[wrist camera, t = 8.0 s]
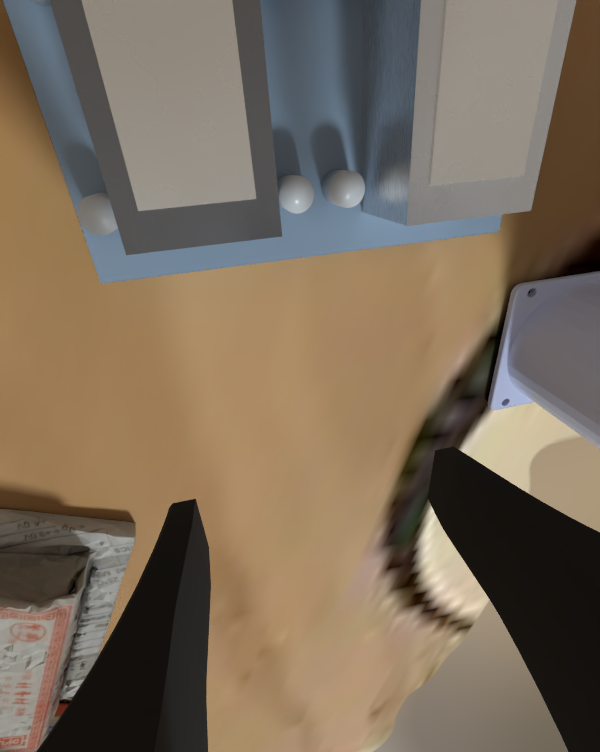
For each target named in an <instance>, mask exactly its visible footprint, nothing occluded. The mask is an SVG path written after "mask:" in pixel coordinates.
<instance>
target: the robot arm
mask: <svg viewBox="0 0 600 752" xmlns="http://www.w3.org/2000/svg"><path fill="white" fill-rule="evenodd" d="M530 289H531V291H530V293H529V294H528V292H529V290H530ZM532 402H535V403H537V404H538V405H539V406H541V407H542V408H544V409H545V410H546V411H548V412H549V413H550V414H552V415H553V416H555V417H556V418H557V419H559V420H560V421H562V422H563V423H564V424H566V425H567V426H568V427H570V428H571V429H573V430H574V431H575V432H577V433H578V434H580V435H581V436H582V437H584V438H585V439H587V440H588V441H589V442H591V443H592V444H593V445H595V446H596V447H598V448H599V449H600V271H596V272H590V273H584V274H577V275H571V276H564V277H558V278H551V279H545V280H538V281H532V282H525V283H520V284H518V285H516V286H515V287H514V288H513V290H512V292H511V295H510V300H509V304H508V309H507V314H506V318H505V323H504V328H503V333H502V337H501V342H500V347H499V351H498V356H497V361H496V365H495V370H494V375H493V380H492V384H491V389H490V394H489V398H488V406H489V407H490V408H491V409H493V410H499V409H504V408H508V407H513V406H518V405H523V404H527V403H532ZM428 499H429V501H430V503H431V506H432V508H433V510H434V512H435V514H436V516H437V518H438V520H439V522H440V524H441V525H442V527H443V529H444V531H445V532H446V534H447V535H448V537H449V539H450V540H451V542H452V543H453V545H454V546H455V548H456V549H457V551H458V552H459V554H460V555H461V557H462V558H463V560H464V561H465V563H466V564H467V566H468V567H469V569H470V570H471V572H472V573H473V575H474V576H475V578H476V579H477V581H478V582H479V584H480V585H481V587H482V588H483V590H484V591H485V593H486V594H487V596H488V597H489V599H490V601H491V602H492V603H493V605H494V607H495V609H496V610H497V612H498V614H499V615H500V617H501V619H502V621H503V623H504V624H505V626H506V628H507V630H508V632H509V634H510V635H511V637H512V639H513V641H514V643H515V645H516V646H517V648H518V650H519V652H520V654H521V656H522V658H523V660H524V662H525V663H526V666H527V668H528V669H529V671H530V673H531V675H532V677H533V679H534V681H535V683H536V685H537V687H538V689H539V691H540V693H541V695H542V697H543V699H544V701H545V703H546V705H547V707H548V709H549V711H550V713H551V715H552V718H553V720H554V722H555V724H556V726H557V728H558V730H559V732H560V734H561V736H562V738H563V741H564V743H565V745H566V747H567V749H568V752H600V532H598V531H596V530H593V529H592V528H590V527H587V526H586V525H584V524H582V523H580V522H578V521H576V520H574V519H572V518H570V517H568V516H567V515H565V514H563V513H561V512H559V511H558V510H556V509H554V508H552V507H550V506H549V505H547V504H545V503H543V502H541V501H540V500H538V499H536V498H535V497H533V496H531V495H530V494H528V493H526V492H525V491H523V490H522V489H520V488H518V487H517V486H515V485H513V484H512V483H510V482H509V481H507V480H505V479H504V478H502V477H501V476H499V475H498V474H496V473H494V472H493V471H491V470H490V469H488V468H487V467H485V466H483V465H482V464H480V463H479V462H477V461H476V460H474V459H473V458H471V457H469V456H468V455H466V454H465V453H463V452H461V451H460V450H458V449H457V448H455V447H450V448H445V449H440V450H435V456H434V462H433V468H432V474H431V480H430V487H429V493H428ZM210 591H211V579H210V560H209V546H208V542H207V539H206V535H205V531H204V528H203V524H202V520H201V517H200V513H199V510H198V506H197V502H196V499H193V500H188V501H183V502H178V503H173V504H172V505H171V506H170V508H169V511H168V514H167V517H166V519H165V522H164V525H163V527H162V530H161V532H160V535H159V537H158V540H157V542H156V545H155V547H154V549H153V552H152V554H151V556H150V558H149V561H148V563H147V565H146V567H145V569H144V571H143V574H142V576H141V578H140V580H139V582H138V584H137V586H136V588H135V590H134V592H133V594H132V596H131V598H130V600H129V602H128V604H127V606H126V608H125V610H124V612H123V614H122V615H121V617H120V619H119V621H118V623H117V625H116V627H115V629H114V630H113V632H112V634H111V636H110V637H109V639H108V641H107V643H106V644H105V646H104V648H103V650H102V651H101V653H100V655H99V656H98V658H97V660H96V661H95V663H94V665H93V666H92V668H91V670H90V671H89V673H88V675H87V676H86V678H85V679H84V681H83V682H82V684H81V685H80V687H79V689H78V690H77V692H76V693H75V695H74V696H73V698H72V700H71V701H70V703H69V704H68V706H67V707H66V709H65V710H64V712H63V713H62V715H61V716H60V718H59V719H58V721H57V722H56V724H55V725H54V727H53V728H52V730H51V731H50V733H49V734H48V736H47V737H46V738H45V740H44V741H43V743H42V744H41V745H40V747H39V748H38V750H37V751H36V752H208V738H207V707H206V676H207V656H208V635H209V614H210Z"/></svg>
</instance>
